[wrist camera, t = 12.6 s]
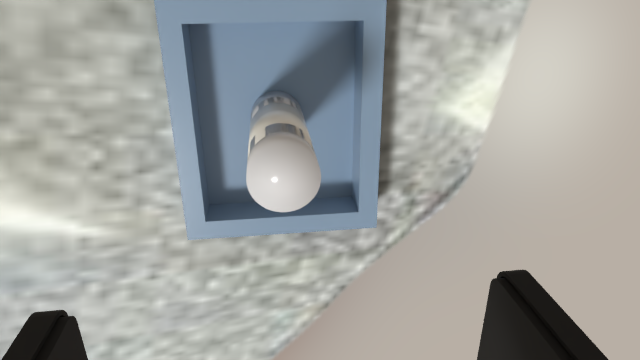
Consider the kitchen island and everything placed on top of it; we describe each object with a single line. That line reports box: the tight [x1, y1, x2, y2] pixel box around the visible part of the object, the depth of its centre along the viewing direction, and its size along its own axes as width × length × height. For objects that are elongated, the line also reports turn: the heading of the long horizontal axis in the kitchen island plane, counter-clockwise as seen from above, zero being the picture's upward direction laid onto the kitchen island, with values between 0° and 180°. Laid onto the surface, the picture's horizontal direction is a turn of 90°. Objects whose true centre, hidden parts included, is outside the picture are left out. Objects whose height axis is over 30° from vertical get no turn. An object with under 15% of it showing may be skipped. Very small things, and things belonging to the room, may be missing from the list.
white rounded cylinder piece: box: [246, 91, 321, 212], centre depth 24 cm, size 3×3×10 cm
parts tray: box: [154, 0, 387, 240], centre depth 28 cm, size 14×12×3 cm
